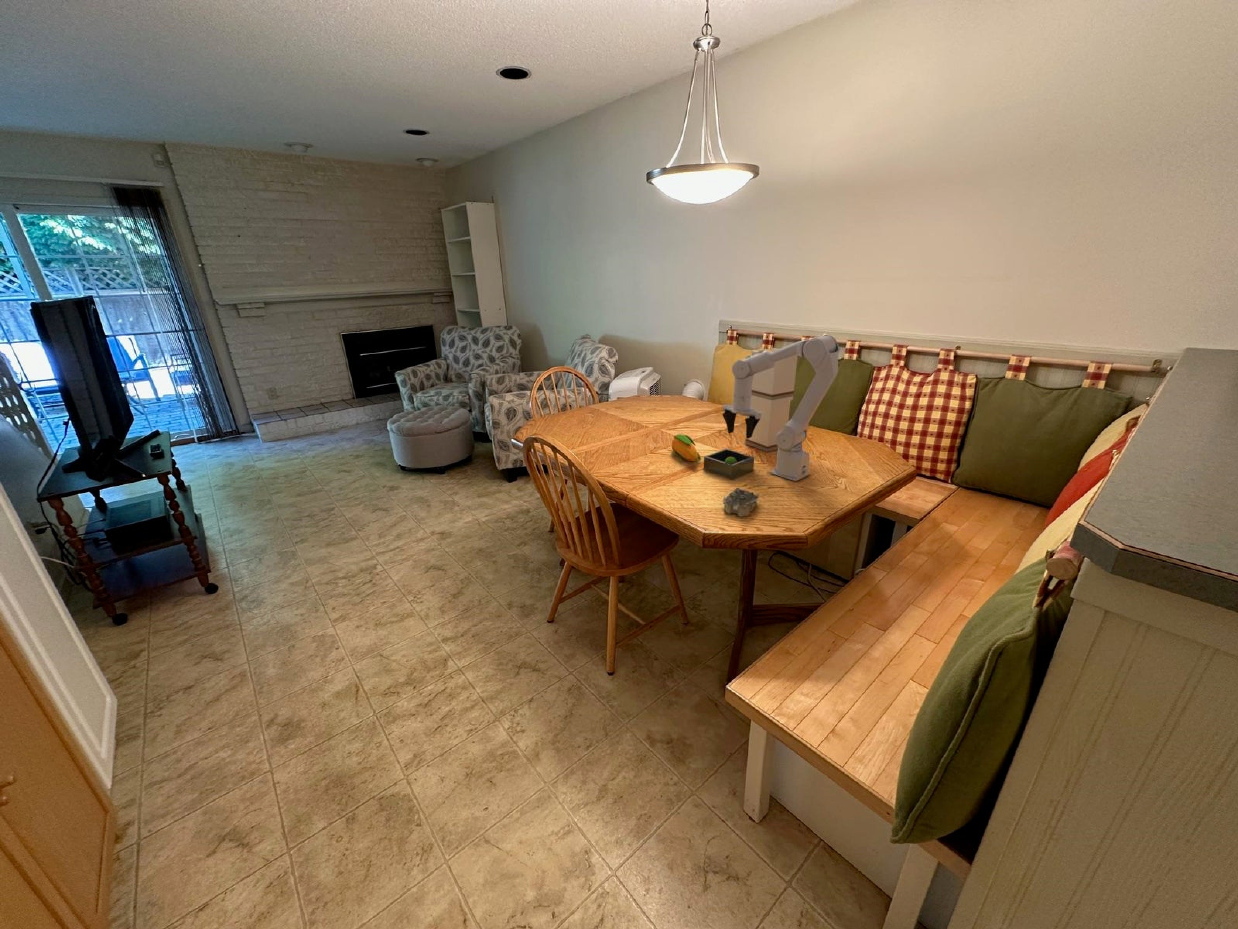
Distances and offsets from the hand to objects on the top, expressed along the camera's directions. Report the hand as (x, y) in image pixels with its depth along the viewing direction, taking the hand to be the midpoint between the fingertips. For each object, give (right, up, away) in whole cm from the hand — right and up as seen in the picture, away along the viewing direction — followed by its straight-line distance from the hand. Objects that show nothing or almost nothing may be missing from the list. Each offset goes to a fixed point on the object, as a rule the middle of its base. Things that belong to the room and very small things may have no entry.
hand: (739, 435), depth 163 cm
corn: (-17, -8, +7) cm, 20 cm away
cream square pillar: (+15, -3, +18) cm, 23 cm away
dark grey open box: (-5, -12, -4) cm, 13 cm away
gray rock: (-8, -22, -30) cm, 38 cm away
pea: (-5, -11, -4) cm, 13 cm away
